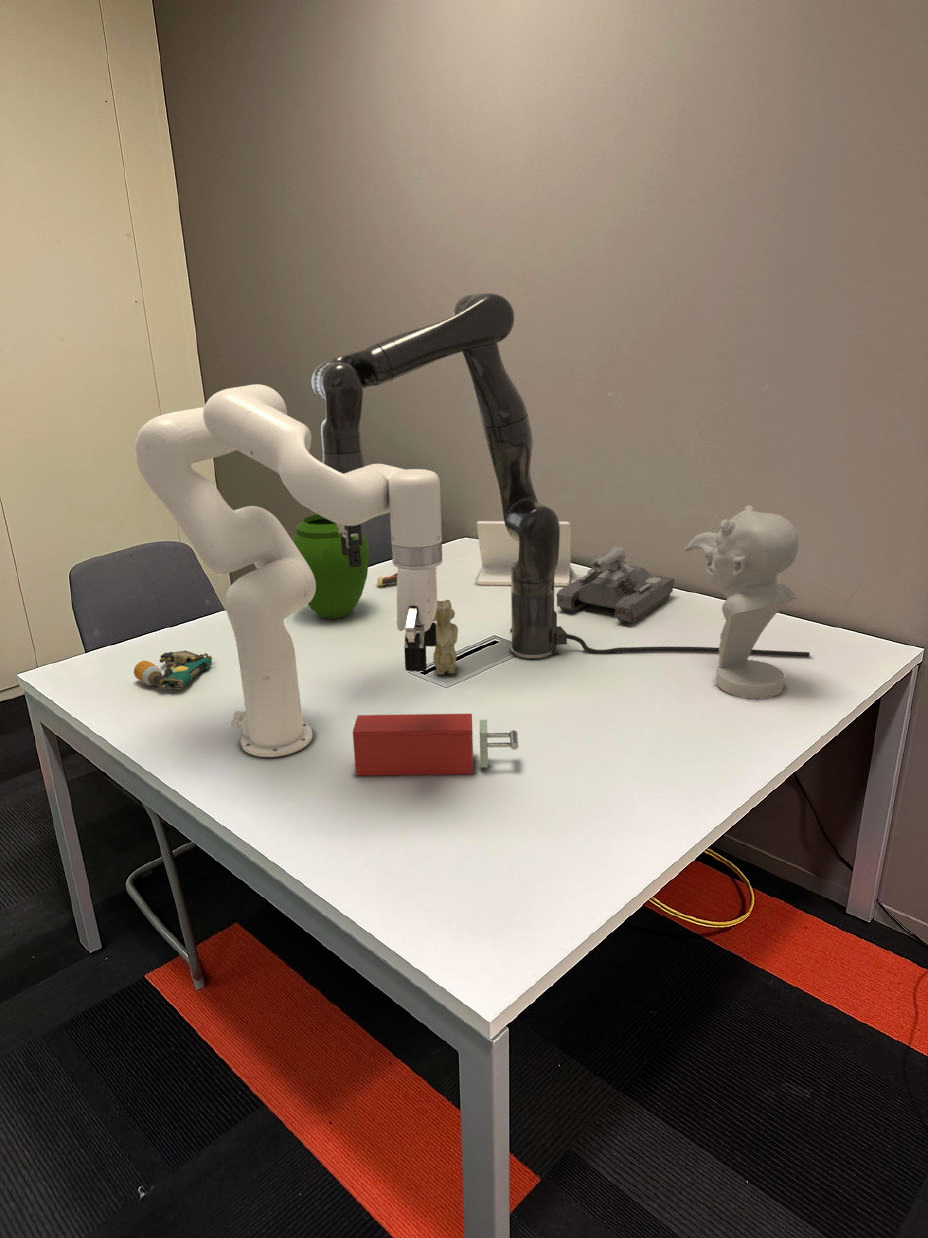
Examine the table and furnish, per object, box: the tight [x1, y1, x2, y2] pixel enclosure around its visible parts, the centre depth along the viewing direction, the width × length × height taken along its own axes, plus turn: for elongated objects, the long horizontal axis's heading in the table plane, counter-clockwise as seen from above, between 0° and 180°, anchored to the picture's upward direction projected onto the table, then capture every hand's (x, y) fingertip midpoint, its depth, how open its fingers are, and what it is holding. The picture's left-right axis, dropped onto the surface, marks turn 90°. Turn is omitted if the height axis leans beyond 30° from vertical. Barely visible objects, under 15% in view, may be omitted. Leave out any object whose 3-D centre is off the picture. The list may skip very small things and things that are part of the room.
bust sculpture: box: [684, 505, 799, 699], centre depth 167 cm, size 16×24×35 cm
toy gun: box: [376, 572, 398, 587], centre depth 240 cm, size 3×19×10 cm
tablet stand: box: [476, 520, 572, 587], centre depth 236 cm, size 18×25×17 cm
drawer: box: [472, 719, 519, 768], centre depth 142 cm, size 23×5×6 cm, turn 89°
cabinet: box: [352, 713, 474, 777], centre depth 142 cm, size 19×6×8 cm, turn 89°
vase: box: [291, 514, 370, 620], centre depth 209 cm, size 20×20×24 cm
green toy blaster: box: [133, 650, 213, 690], centre depth 180 cm, size 4×17×15 cm
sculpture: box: [432, 599, 459, 675], centre depth 177 cm, size 6×7×15 cm
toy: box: [556, 546, 676, 624], centre depth 212 cm, size 25×20×15 cm
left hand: (421, 657), depth 134 cm, fingers open, 9 cm apart
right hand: (351, 560), depth 162 cm, fingers open, 8 cm apart
